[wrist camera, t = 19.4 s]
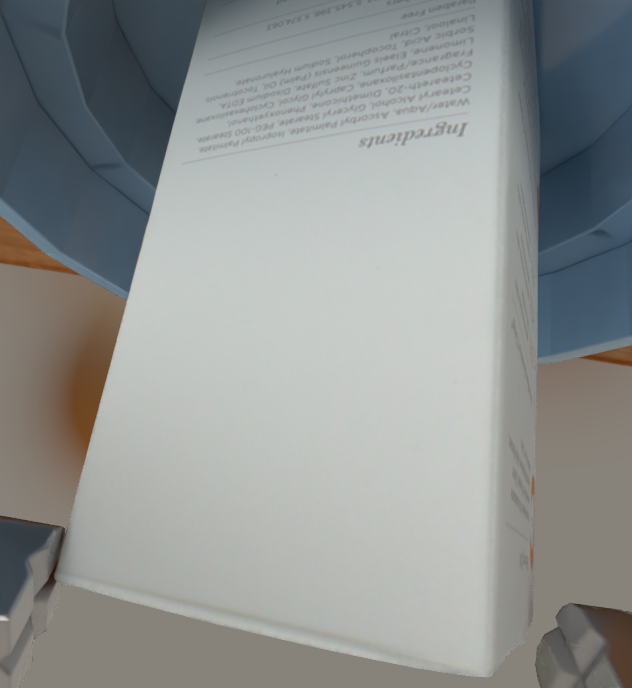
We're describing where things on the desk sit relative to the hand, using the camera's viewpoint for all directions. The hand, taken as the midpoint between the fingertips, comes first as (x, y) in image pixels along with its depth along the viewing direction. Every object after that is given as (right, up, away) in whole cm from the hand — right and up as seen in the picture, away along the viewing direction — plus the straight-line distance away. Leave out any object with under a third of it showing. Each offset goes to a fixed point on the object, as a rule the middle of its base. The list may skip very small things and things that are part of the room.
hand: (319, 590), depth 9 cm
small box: (+2, +11, +5) cm, 13 cm away
